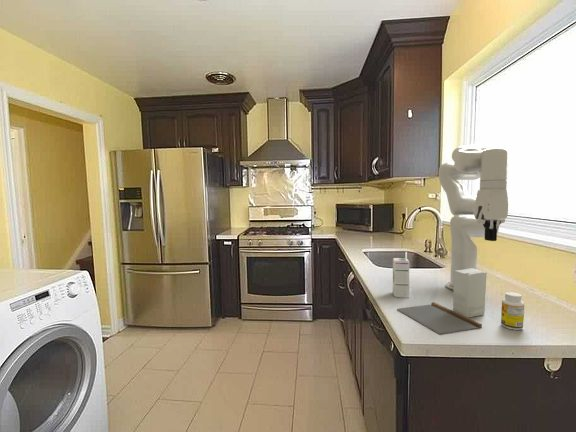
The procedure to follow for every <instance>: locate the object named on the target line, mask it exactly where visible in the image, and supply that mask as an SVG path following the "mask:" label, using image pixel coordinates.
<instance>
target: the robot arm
mask: <svg viewBox="0 0 576 432" xmlns="http://www.w3.org/2000/svg"><path fill="white" fill-rule="evenodd" d="M451 159H452V161H447V162H445V163H443V164H441V165H440V167H439V169H438V180H439V184H440V185H441V187H442V189H443V191H444V192H445V194H446V198H447V204H448V206H449V210H450V213H451V214H452V217H451V218H450V220H449V227H450V228H449V229H450V237H451V249H450V251H451V253H450V257H451V258H450V260H451V261H450V278H449V279H450V281H447V282H446V283H445V287H446V288H447V289H449V290H452V291H454V271H456V270H463V269H469V268H474V269H477V263H478V262H477V260H478V246H477V245H476V243H475V242H474V240H473V239H472V238H484V240H485V241H488V242H489V241H491V242H497V239H498V233H499V231H500V230H499V228H500V225H501V224H504V223H505V222H506V219H508V214H509V201H508V200H509V197H508V190H507V188H508V187H507V186H508V185H507V182H508V165H509V163H508V162H509V151H508V149H507V148H503V147H493V148H491V147H490V146H488V145H486V144H469V145H467V144H466V145H465V144H464V145H460V146H457V147H456V148H454V149H453V150H452V153H451ZM478 179H479V190H477V192H476V195H470V194H469V192H468V189H467V187H466V186H465V185H464V184H463V183H461V181H463V180H465V181H466V180H467V181H468V180H469V181H470V180H471V181H473V180H474V181H475V180H478ZM460 180H461V181H460ZM459 181H460V182H459Z"/></svg>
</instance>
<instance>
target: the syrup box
mask: <svg viewBox="0 0 576 432" xmlns="http://www.w3.org/2000/svg"><path fill="white" fill-rule="evenodd" d="M392 294H393V297H395V298H403V299H404V298H405V299H407V298H408V299H409V298H410V260H409V259H408V258H405V257H394V258H392Z"/></svg>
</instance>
